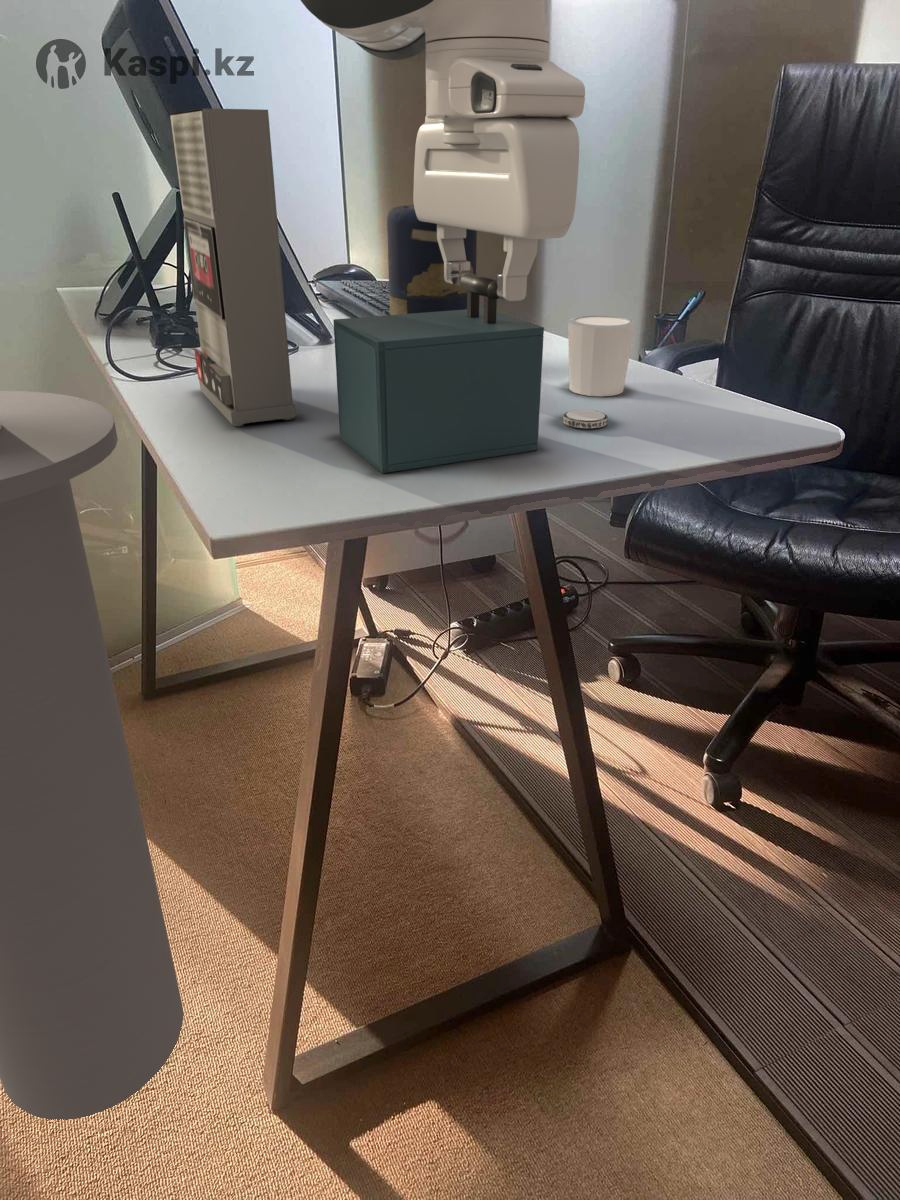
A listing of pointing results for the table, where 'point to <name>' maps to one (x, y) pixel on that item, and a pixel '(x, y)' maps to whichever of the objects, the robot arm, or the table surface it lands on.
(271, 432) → the table surface
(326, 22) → the robot arm
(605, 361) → the cream cup
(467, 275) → the dark green lidded box
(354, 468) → the table surface
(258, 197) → the beige tall upright block
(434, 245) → the canister
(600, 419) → the washi tape
